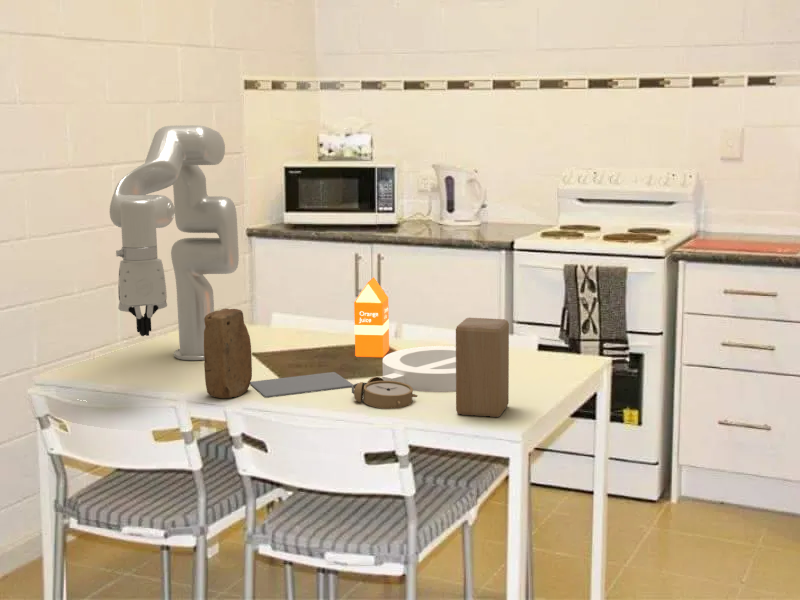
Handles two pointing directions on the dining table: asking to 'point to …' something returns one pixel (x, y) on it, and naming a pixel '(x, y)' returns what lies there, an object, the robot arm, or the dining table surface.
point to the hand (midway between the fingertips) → (144, 334)
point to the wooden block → (482, 367)
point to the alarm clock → (383, 393)
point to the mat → (300, 384)
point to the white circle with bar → (423, 368)
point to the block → (227, 354)
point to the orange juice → (371, 321)
